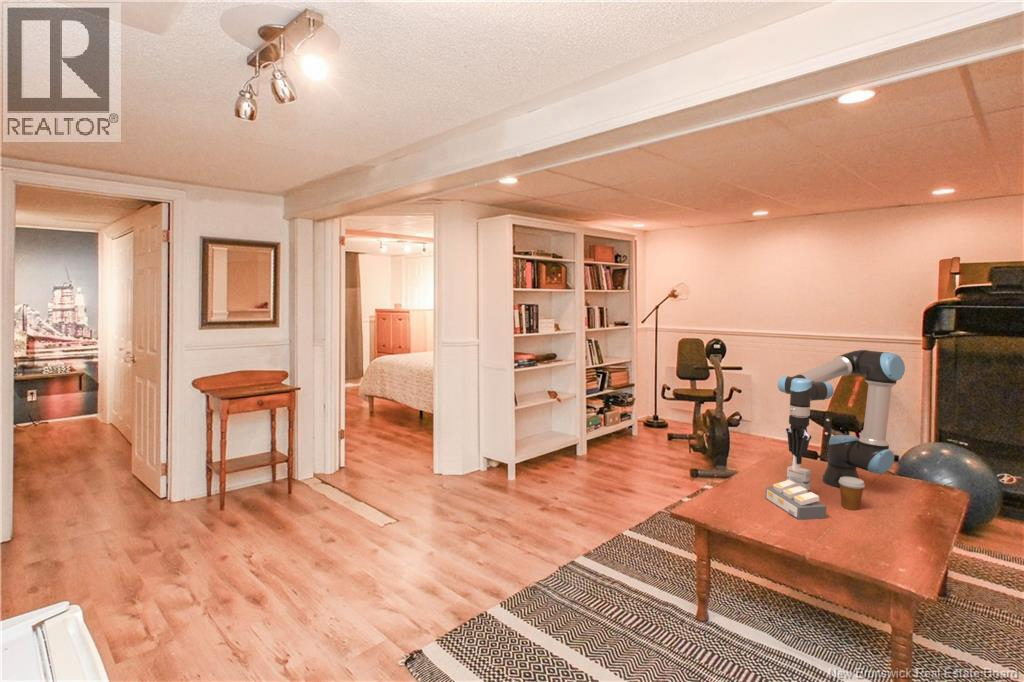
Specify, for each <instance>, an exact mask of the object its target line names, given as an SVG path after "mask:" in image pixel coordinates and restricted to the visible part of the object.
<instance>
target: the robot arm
mask: <svg viewBox="0 0 1024 682" xmlns="http://www.w3.org/2000/svg"><path fill="white" fill-rule="evenodd" d="M905 367H906V366H905V363H904V360H903V359H902V357H901V356H900V355H898V354H897V353H893V352H888V351H878V350H877V351H875V350H869V349H868V350H867V349H860V350H859V349H858V350H853V351H849V352H846V353H843V354H840V355H837V356H835V357H834V358H833V360H831V361H828V362H827V363H826V362H825V363H823V364H821V365H819V366H816V367H814V368H811V369H809V370H806V371H804V372H802V373H801V372H800V373H799V374H796V375H793V376H788V375H787V376H786V375H785V376H781V377H780V378H779V379H778V381H777V389H778V390H779V391H780V392H781V393H783V394H787V395H790V396H789V399H790V400H789V415H788V424H789V425H790V427H788V428H785V432H786V434H787V443H788V444H787V446H788V452H790V453H791V455H792V457H791V458H792V459H791V460H792V465H791V466H792V470H793V471H800V470H801V468H802V467H801V466H802V460H803V457H806V456H807V452H808V448H809V444H810V442H811V439H812V435H809V434H808V427H809V426H810V419H811V418H810V415H811V402H812V401H825V400H828V399H831V398H832V397H833V396H834V391H835V390H834V387H833V385H832V384H831V383H830V382H829V381H831V380H833V379H834V380H835V379H836V378H840V377H842V376H843V377H847V376H849V375H850V376H851V375H858V376H864V381H865V383H867V386H868V387H867V394H866V395H867V396H866V403H865V404H866V405H865V412H864V413H865V414H864V421H863V423H864V424H863V430H862V436H860V438H859V437H857V436H855V435H849V434H847V435H846V434H836V435H831V436H830V438H829V439H828V453H827V454H828V455H827V457H828V458H827V467H826V468H825V471H824V473H823V475H822V482H823V483H824V484H827V485H829V486H832V487H836V488H839V489H840V484H839V479H840V477H846V476H847V477H854V478H858V479H860V477H859V474H858V471H857V468H858V469H861V470H864V471H868V472H869V473H874V474H879V475H882V474H885V473H886V472H888V471H889V470H890V469H891V468H892V467H893V465H894V461H895V454H894V451H892V450H891V449H890V448H889V447H890V443H889V442H888V441H887V439H886V438H887V429H888V420H889V412H890V405H891V404H890V403H891V396H892V387H894V386H895V385H897V382H898V381H900V380H901V379H902V378H903V376H904V375H905V371H906V370H905Z"/></svg>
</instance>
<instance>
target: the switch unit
mask: <svg viewBox="0 0 1024 682" xmlns="http://www.w3.org/2000/svg"><path fill="white" fill-rule="evenodd" d="M765 488H766V489H765V499H766V500H767V501H769V502H771V504H773V505H775V506H776V507H779V508H780V509H782V510H783V511H784V512H786V513H787V514H789V515H790V516H792V517H794V518H795V519H796V520H799V521H802V520H817V519H819V520H820V519H826V518H827V505H825V504H823V503H822V502H820V501H816V502H813V503H809V504H806V505H802V506H801V505H800V504H798V503H796V502H795V501H794V498H792V499H790V498H788V497H786V496H785V495H784V494H783V492H781V493H780V492H778V491H776V490H775V489H773V486H771V487H765Z"/></svg>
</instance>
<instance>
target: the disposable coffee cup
mask: <svg viewBox="0 0 1024 682" xmlns="http://www.w3.org/2000/svg"><path fill="white" fill-rule="evenodd" d="M839 484H840V488H839V493H840V502H841V503H840V505H841V507H842V508H843V509H845V510H848V511H849V510H851V511H859V510H860V506H861V501H862V497H863V491H864V488H865V486H866V484H865V482H864V480H863V479H862V478H859V479H858V478H854V477H847V476H846V477H840V479H839Z"/></svg>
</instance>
